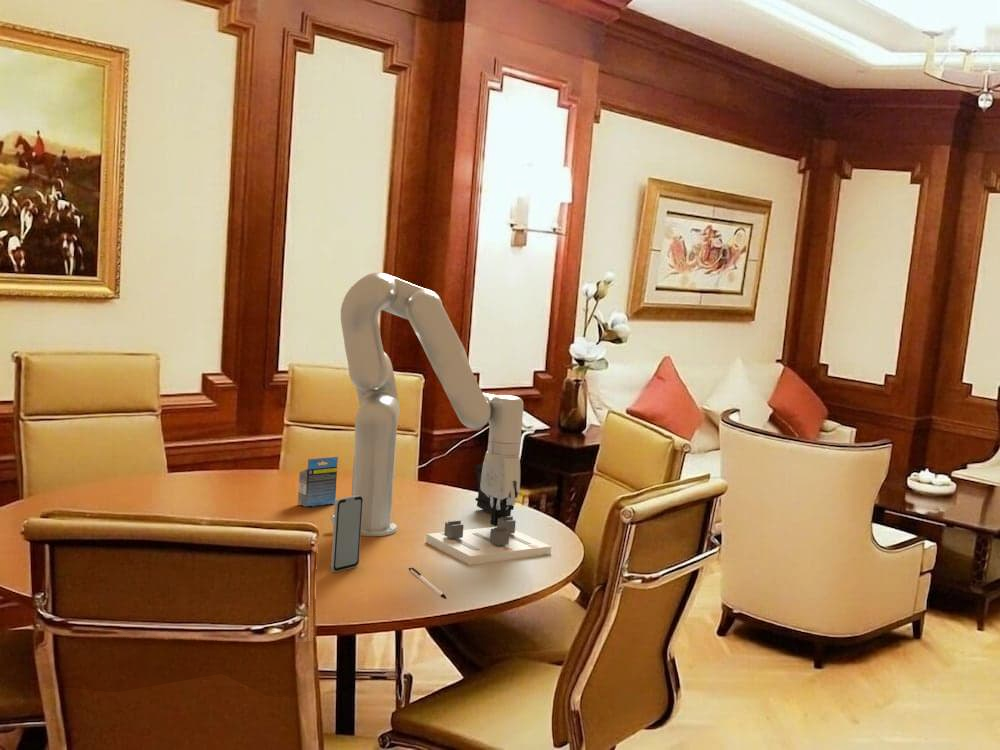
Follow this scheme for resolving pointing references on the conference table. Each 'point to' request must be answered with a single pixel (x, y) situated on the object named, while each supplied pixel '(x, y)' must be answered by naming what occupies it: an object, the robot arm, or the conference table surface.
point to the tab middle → (499, 536)
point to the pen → (427, 582)
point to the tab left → (454, 529)
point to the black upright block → (482, 499)
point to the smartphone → (346, 533)
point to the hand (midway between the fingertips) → (497, 524)
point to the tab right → (507, 523)
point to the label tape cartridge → (318, 482)
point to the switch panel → (487, 546)
